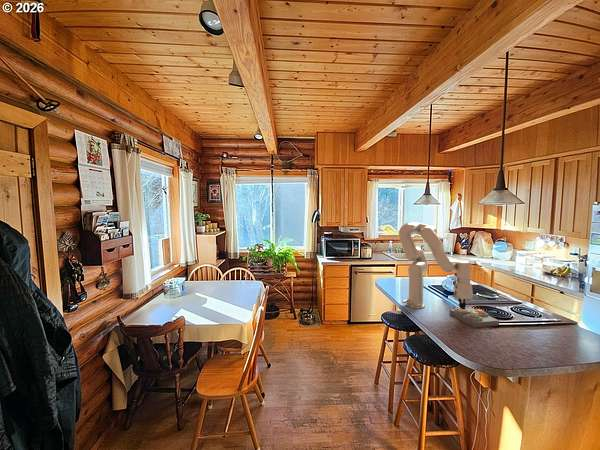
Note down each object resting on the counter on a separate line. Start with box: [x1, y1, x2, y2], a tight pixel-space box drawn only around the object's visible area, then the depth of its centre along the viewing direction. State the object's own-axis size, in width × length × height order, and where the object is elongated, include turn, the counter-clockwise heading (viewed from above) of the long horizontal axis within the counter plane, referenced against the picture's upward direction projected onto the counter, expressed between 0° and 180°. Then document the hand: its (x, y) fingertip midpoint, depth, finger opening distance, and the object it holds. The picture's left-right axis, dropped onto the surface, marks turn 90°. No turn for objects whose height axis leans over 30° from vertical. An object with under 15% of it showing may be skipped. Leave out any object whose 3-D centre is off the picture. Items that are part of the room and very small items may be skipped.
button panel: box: [449, 307, 500, 328], centre depth 169 cm, size 17×20×4 cm
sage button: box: [470, 311, 478, 318], centre depth 163 cm, size 4×4×2 cm
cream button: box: [457, 306, 467, 312], centre depth 173 cm, size 4×4×2 cm
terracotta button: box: [476, 308, 485, 314], centre depth 170 cm, size 4×4×2 cm
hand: (462, 308), depth 173 cm, fingers closed
